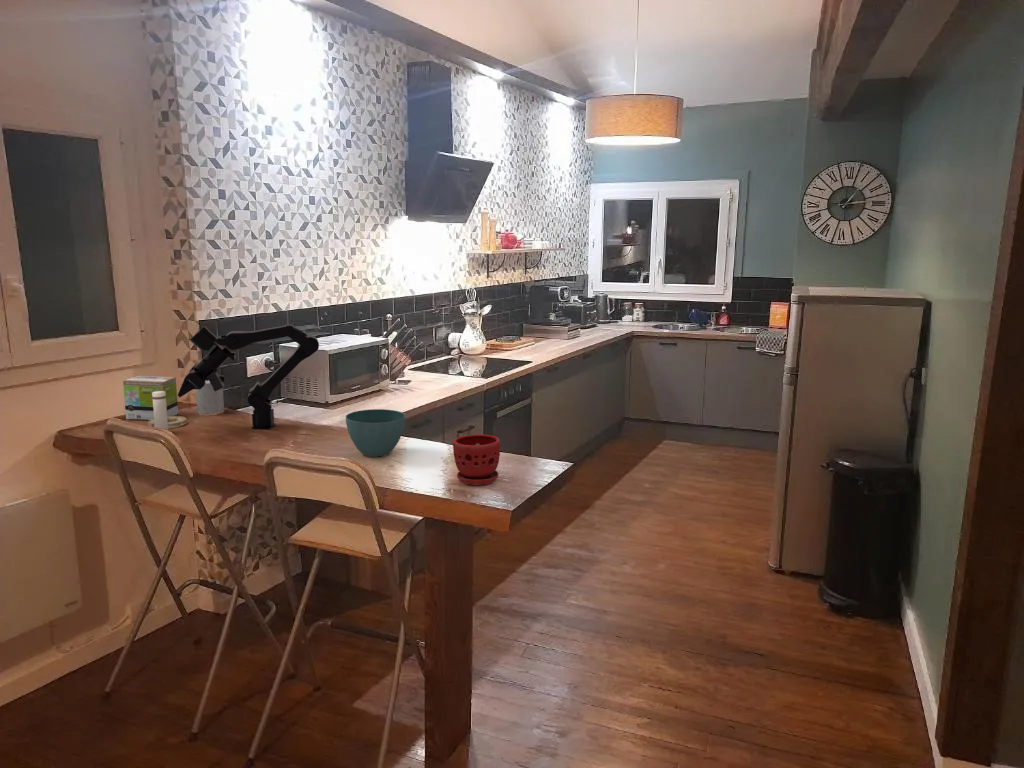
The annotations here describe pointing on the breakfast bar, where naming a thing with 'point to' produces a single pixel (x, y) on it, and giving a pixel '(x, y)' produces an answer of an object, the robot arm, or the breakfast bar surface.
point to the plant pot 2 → (477, 458)
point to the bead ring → (172, 421)
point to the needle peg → (160, 409)
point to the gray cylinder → (209, 399)
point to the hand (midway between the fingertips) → (180, 393)
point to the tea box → (148, 396)
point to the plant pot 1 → (375, 430)
